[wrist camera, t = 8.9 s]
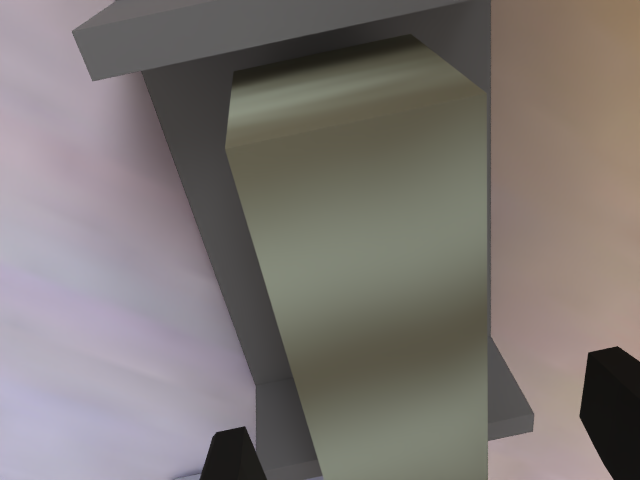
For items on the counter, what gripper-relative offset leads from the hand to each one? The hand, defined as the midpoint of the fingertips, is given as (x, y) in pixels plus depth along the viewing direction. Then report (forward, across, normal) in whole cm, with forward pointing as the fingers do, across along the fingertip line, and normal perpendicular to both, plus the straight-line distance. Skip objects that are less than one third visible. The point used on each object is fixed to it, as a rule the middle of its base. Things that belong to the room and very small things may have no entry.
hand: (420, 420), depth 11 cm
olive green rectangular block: (+6, 0, 0) cm, 6 cm away
